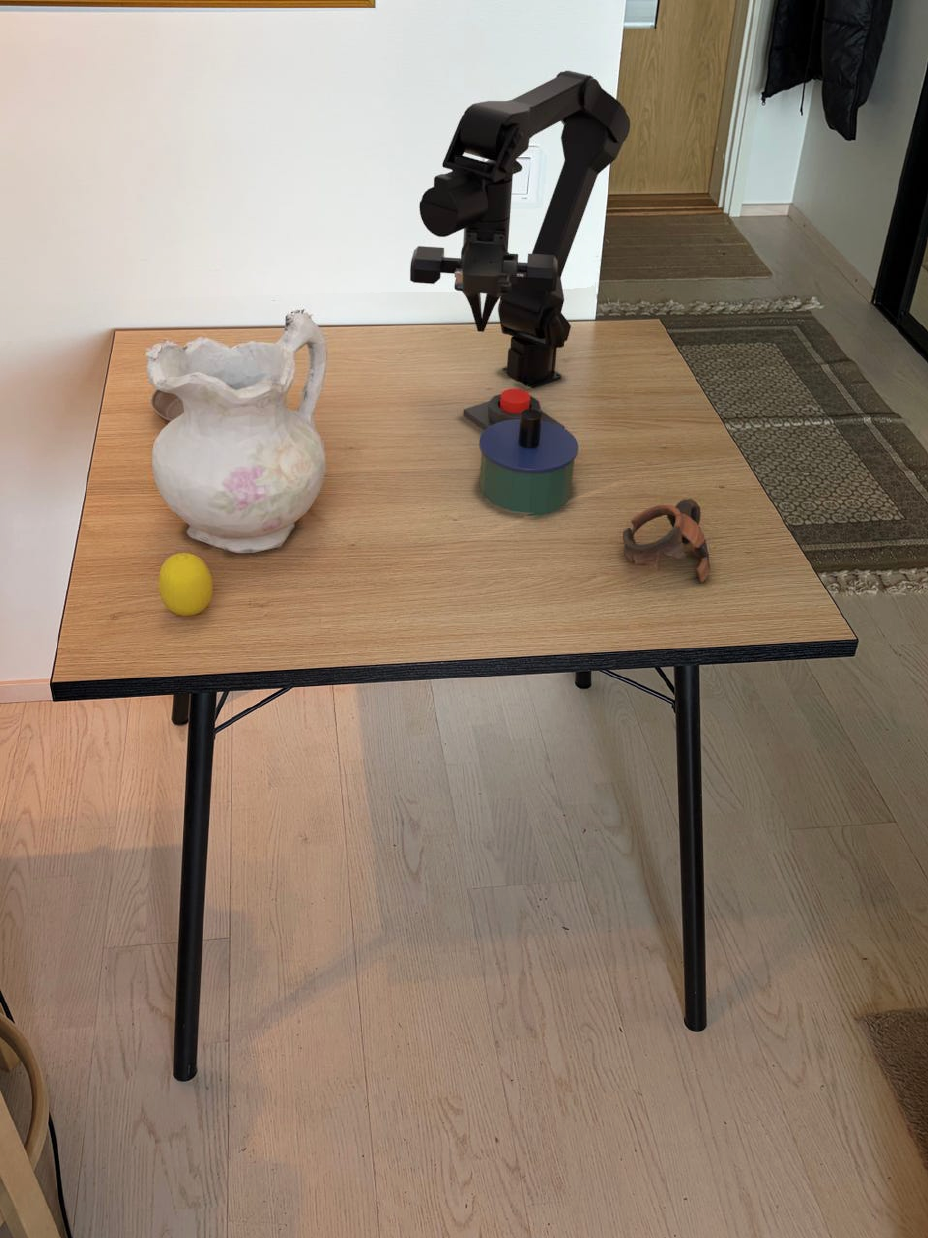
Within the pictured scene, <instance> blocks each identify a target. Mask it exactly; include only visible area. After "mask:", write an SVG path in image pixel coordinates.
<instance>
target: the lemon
mask: <svg viewBox="0 0 928 1238" xmlns="http://www.w3.org/2000/svg"><path fill="white" fill-rule="evenodd" d="M213 589H214V588H213V579H212V576H211V573H210V570H209V568H208V566H207V564H206V563H205V562H204V560H203V559H202V558H200V557H199V556H197V555H195V554H192V553H188V552H179V553H176V554H173V555H171V556H170V557H168V558H167V559H166V560H165V561H164V562H163V564H162V566H161V568H160V571H159V574H158V592H159V596H160V598H161V601H162V603H163V605H164V606H165V607H166V608H167V609H168V610H169V611H170V612H172V613H174V614H175V615H178V616H180V617H181V616H182V617H191V616H195V615H197V614H199V613H201V612H203V611H204V610H205V609H206V608H207V606H208V605H209V603H210V601H211V599H212V596H213Z"/></svg>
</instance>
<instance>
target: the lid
mask: <svg viewBox="0 0 928 1238" xmlns="http://www.w3.org/2000/svg"><path fill="white" fill-rule="evenodd" d="M478 447H479V450H480V452H481V454H483V455H484V456H485V457H486V458H487V459H488V460H489V461H491V462H492V463H494V464H496V465H498V466H500V467H503V468H506V469H509V470H513V471H518V472H525V473H544V472H550V471H555V470H558V469H561V468H563V467H565V466H567V465H569V464H570V463H571V462H573V461H574V462H575V460H576V458H577V456H578V454H579V442H578V440H577V439H576V437H575V435H573V433H571V432H570V431H569V430H568V429H566V428H562V427H560V426H558V425H556V424H553V423H550V422H546V421H542V413H541V412H539V411H537V410H533V409H527V410H524V411H522V412H521V416H520V419H511V420H505V421H502V422H498V423H496V424H493V425H491V426H490V427H488V428H487V429H486V430H483V432H482V433H481V434H480V437H479V440H478ZM574 459H575V460H574Z"/></svg>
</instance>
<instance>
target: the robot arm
mask: <svg viewBox="0 0 928 1238" xmlns="http://www.w3.org/2000/svg"><path fill="white" fill-rule="evenodd" d="M559 122H561V124H562V125H563V126H562V127H563V128H562V131H561V135H560V141H561V147H562V152H563V158H564V159H563V165H562V167H561V170H560V172H559V175H558V178H557V182H556V184H555V187H554V189H553V192H552V195H551V198H550V201H549V204H548V207H547V209H546V212H545V215H544V218H543V221H542V223H541V227H540V228H539V232H538V235H537V237H536V241H535V243H534V246H533V249H532V252H531V253H527V260H526V261H527V262H521V261H520V262H519V254H518V253H510V252H509V238H510V226H511V225H510V224H511V212H512V211H511V209H512V195H513V181H514V180H513V179H514V175H515V174H517V173H520V172H522V170H523V165H522V164H521V163H520V162H519V161H517V159H518V158H519V157H520V156H522V155H523V154H524V153H525V152H527V151H528V149H529V147H530V141H531V138H533V137H534V136H535V135H537V134H539V133H540V132H543V131H544V130H546V129H548V128H550V127H552V126H553V125H556V124H557V123H559ZM630 129H631V120H630V117H629V115H628V114H627V109H626V108H625V106H623V105H622V103H621V102H620V101H619V100H618V99H616V98H615V97H614V96H613V95H611V94H610V93H609V92H608V91H606V90H605V89H604V88H603V87H602V86H601V84H600V83H599V81H598V80H597V79H596V78H595V77H593V76H592V75H591V74H585V73H581V72H578V71H577V72H576V71H573V70H564V71H559V72H558V74H556V76H555V77H554V78H552V79H550V80H548V81H546V82H545V83H542V84H540V85H538V86H537V87H535V88H533V89H531V90H528V91H527V92H525V93H523V94H520V95H518V96H517V97H514V98H512V99H510V100H486V101H480V102H476V103H472V104H471V105H469V106H468V107H467V108H466V110H465V111H464V112H463V115H461V118H460V120H459V122H458V124H457V127H456V129H455V131H454V134H453V136H452V139H451V141H450V144H449V146H448V149H447V150H446V151H447V152H446V153H445V156H444V158H443V160H442V164H441V165H442V168H444V169H447V170H451V171H450V172H447V173H440V174H437V175H435V176H434V178H433V187H430V188H428V189H427V190H425V191H424V193H423V195H422V196H421V200H420V202H419V205H418V206H419V207H418V208H419V214H420V219H421V221H422V223H423V225H424V226H425V228H426V230H428V231H429V232H430V233H431V234H432V235H434V236H436V237H438V238H446V237H449V236H451V235H453V234H455V233H458V232H459V231H462V230H463V241H462V243H463V244H462V248H461V250H460V257H447V256H445V247H437V246H423V245H422V246H421V245H418V246H417V247H416V248H415V249H414V250H413V253H412V256H411V260H410V266H409V267H410V268H409V281H410V282H412V283H414V284H415V283H416V284H426V285H427V284H430V285H435V284H436V283H437V282H438V281H439V280H440V279H441V274H453V275H454V278H455V280H454V286H453V288H454V290H455V291H457V292H461V293H463V295H464V296H465V298H466V300H467V302H468V304H469V308H470V310H471V314H472V317H473V319H474V324H475V327H476V330H477V332H478V333H484V332H485V331H486V327H487V325H488V323H489V321H490V318H491V315H492V313H493V310H494V309H495V306H496V304H497V303H498V306H497V314H498V320H499V324H500V330H501V334H502V335H508V336H510V346H509V347H510V348H508V349H507V350H508V351H507V364H506V366H505V367H502V369H501V370H502V371H503V372H504V373H506V375H507V376H509V377H510V378H512V379H513V380H514V381H516V382H519V383H521V384H522V385H523V386H525V387H527V388H528V387H529V388H531V389H533V388H536V387H539V386H543V385H547V384H549V383H552V382H556V381H558V380H559V381H560V380H561V379H562V374H560V373H559V372H557V371H556V360H557V359H556V358H557V349H562V348H563V347H565V343H566V342H567V341H568V339H569V336H570V332H571V329H572V326H571V323H570V322H569V321H568V320H567V319H566V317H565V316H564V313H562V310H563V306H564V303H565V295H564V291H563V284H562V275H563V272H564V269H565V267H566V263H567V262H568V261H567V260H568V258H569V255H570V252H571V250H572V248H573V247H572V246H573V245H574V242H575V240H576V236H577V233H578V231H579V227H580V225H581V222H582V219H583V217H584V214H585V211H586V208H587V206H588V203H589V200H590V198H591V194H592V191H593V189H594V187H595V184H596V181H597V178H598V175H599V174H600V173H601V172H603V171H605V169H606V168H607V167H608V166H609V165H611V164H612V163H613V162H614V161H615V160H616V159H617V158H618V155H619V153H620V151H621V149H622V147H623V144H624V142H626V140H627V138H628V136H629V133H630ZM464 154H467V155H471V156H474V157H478V158H481V159H486V161H484V160H480V159H476V158H473V157H468V156H465V155H464ZM482 294H485V299H484V306H483V309H482V296H481V295H482Z"/></svg>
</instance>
